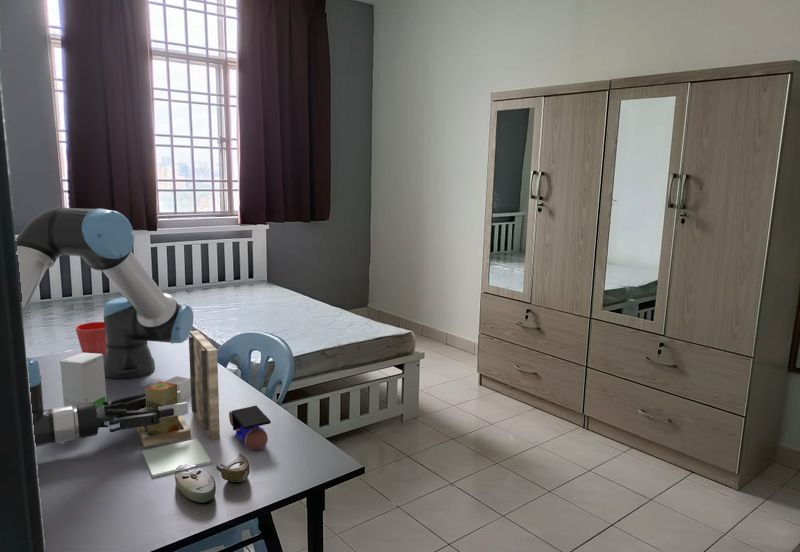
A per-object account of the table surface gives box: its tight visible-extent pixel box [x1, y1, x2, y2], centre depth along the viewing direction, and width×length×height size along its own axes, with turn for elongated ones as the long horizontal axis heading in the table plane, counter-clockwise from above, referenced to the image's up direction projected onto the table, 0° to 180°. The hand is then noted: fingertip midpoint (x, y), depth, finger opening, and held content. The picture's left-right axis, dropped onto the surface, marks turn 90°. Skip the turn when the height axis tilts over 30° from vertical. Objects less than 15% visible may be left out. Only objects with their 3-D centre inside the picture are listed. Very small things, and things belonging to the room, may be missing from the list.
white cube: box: [164, 375, 191, 401], centre depth 161 cm, size 5×5×5 cm
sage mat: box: [142, 438, 212, 479], centre depth 128 cm, size 12×12×1 cm
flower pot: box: [75, 321, 106, 356], centre depth 195 cm, size 11×11×10 cm
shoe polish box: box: [144, 380, 180, 437], centre depth 139 cm, size 5×5×12 cm
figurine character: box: [228, 405, 272, 451], centre depth 137 cm, size 7×8×15 cm
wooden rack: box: [136, 330, 221, 448], centre depth 139 cm, size 18×16×22 cm
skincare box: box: [59, 352, 107, 408], centre depth 147 cm, size 8×7×16 cm
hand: (183, 401), depth 141 cm, fingers closed on shoe polish box, 7 cm apart
